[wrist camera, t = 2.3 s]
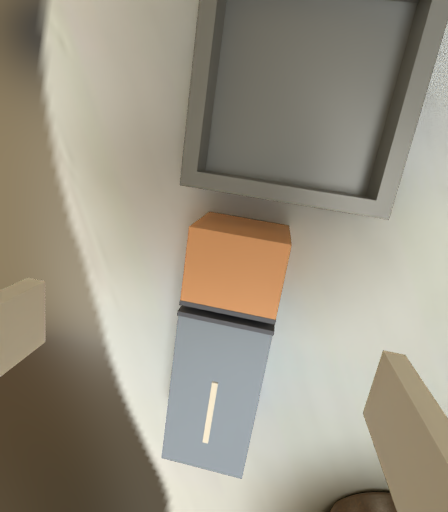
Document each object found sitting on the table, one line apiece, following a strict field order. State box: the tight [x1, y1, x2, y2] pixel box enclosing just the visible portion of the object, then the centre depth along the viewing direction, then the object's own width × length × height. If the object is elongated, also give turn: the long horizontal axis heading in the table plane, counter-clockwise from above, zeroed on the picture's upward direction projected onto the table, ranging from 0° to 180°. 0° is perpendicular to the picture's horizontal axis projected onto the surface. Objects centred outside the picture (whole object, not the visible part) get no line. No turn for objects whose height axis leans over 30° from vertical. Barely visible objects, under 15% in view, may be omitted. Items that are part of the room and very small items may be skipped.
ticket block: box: [162, 305, 274, 479], centre depth 25 cm, size 12×6×6 cm, turn 172°
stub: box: [179, 212, 291, 324], centre depth 23 cm, size 5×6×6 cm
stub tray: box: [180, 0, 448, 220], centre depth 21 cm, size 13×13×4 cm
